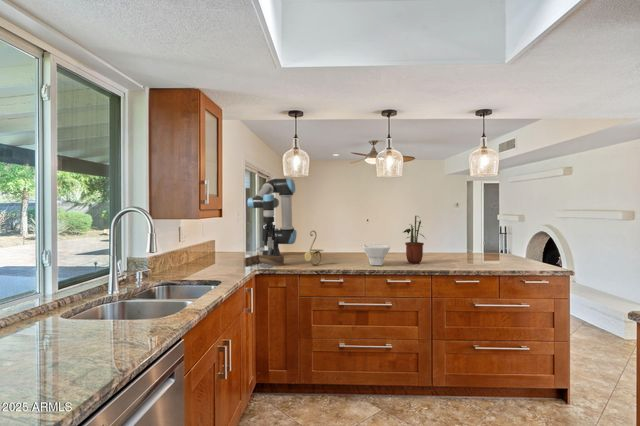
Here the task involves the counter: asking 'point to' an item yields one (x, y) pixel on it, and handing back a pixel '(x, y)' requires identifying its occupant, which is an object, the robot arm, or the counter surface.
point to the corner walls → (264, 260)
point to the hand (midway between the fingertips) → (269, 249)
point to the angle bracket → (268, 245)
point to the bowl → (376, 253)
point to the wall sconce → (308, 254)
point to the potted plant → (414, 246)
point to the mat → (266, 266)
